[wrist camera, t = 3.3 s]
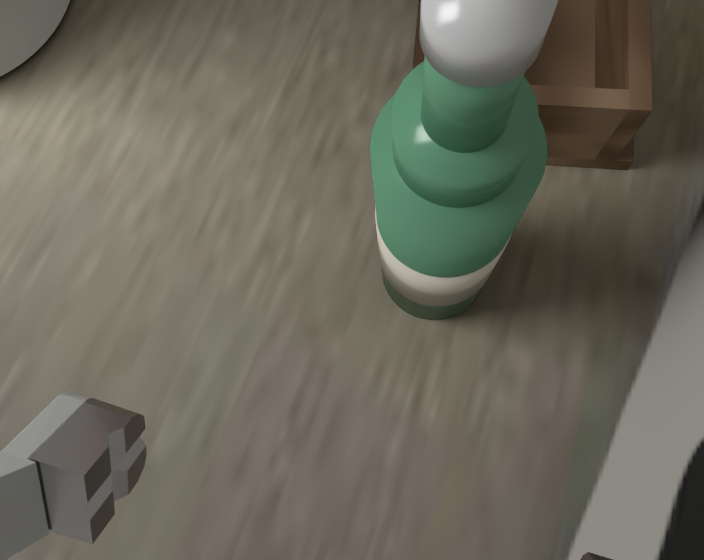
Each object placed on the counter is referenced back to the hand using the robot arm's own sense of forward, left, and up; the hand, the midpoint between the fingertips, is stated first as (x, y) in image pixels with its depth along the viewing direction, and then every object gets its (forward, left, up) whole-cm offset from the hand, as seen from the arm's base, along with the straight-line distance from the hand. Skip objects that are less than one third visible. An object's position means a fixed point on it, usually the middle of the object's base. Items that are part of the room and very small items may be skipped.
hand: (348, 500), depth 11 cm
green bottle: (+2, +10, -20) cm, 22 cm away
